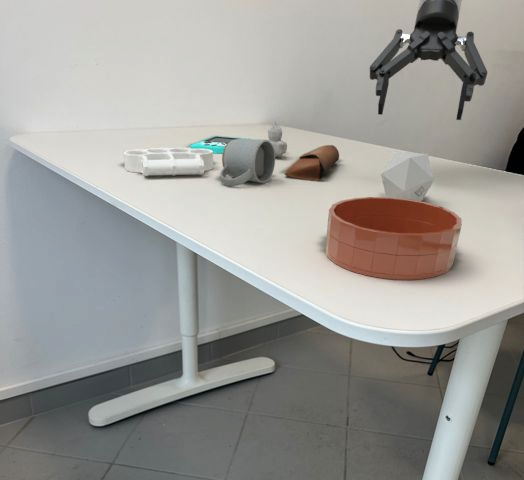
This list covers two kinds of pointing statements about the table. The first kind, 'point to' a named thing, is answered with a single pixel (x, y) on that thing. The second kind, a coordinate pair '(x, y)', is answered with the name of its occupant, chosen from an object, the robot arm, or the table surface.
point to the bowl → (392, 237)
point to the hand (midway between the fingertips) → (419, 112)
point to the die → (407, 176)
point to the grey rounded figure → (277, 140)
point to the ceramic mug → (247, 161)
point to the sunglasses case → (314, 163)
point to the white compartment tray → (168, 161)
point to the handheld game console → (214, 144)
